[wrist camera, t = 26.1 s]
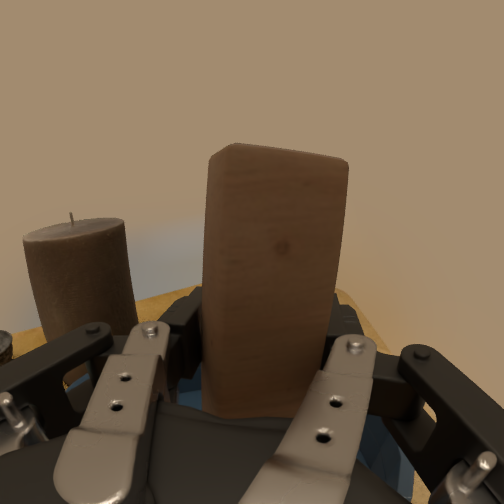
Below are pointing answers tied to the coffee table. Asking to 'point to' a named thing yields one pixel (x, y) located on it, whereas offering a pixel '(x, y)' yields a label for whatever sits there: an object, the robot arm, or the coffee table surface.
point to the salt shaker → (5, 347)
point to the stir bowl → (370, 448)
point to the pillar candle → (81, 278)
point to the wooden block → (268, 276)
